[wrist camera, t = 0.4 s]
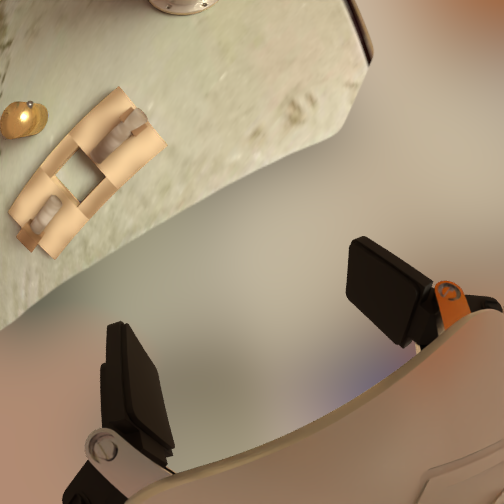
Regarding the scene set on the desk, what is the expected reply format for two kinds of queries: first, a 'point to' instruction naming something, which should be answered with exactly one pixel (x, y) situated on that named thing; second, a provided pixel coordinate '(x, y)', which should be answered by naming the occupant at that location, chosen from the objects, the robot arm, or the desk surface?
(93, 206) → the shaft jig
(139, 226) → the desk surface
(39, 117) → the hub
